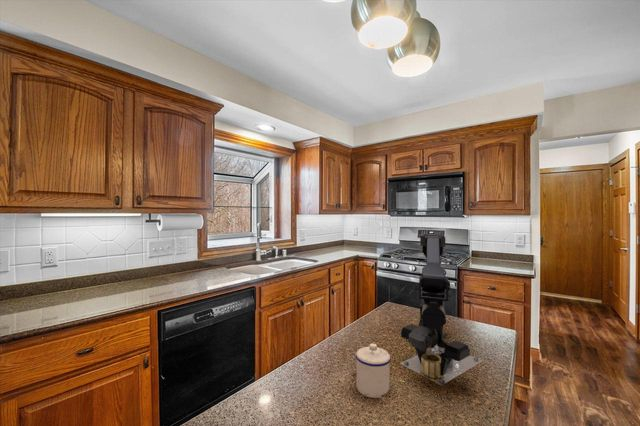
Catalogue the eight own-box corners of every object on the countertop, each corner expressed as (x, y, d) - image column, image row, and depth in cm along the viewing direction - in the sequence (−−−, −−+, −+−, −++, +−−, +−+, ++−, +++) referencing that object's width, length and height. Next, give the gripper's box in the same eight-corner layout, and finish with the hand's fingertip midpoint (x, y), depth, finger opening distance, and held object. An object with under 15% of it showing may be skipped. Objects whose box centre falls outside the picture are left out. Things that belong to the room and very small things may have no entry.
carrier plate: (399, 365, 89) (399, 351, 89) (441, 346, 102) (441, 333, 102) (441, 388, 78) (441, 371, 78) (483, 363, 91) (483, 349, 91)
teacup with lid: (397, 392, 76) (398, 347, 76) (371, 403, 71) (371, 356, 71) (367, 370, 86) (367, 331, 86) (342, 379, 81) (342, 337, 81)
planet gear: (417, 370, 84) (417, 356, 84) (429, 364, 88) (429, 351, 88) (435, 380, 80) (436, 365, 80) (448, 373, 83) (448, 359, 83)
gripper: (389, 312, 87) (388, 364, 87) (448, 334, 71) (447, 397, 72) (412, 305, 93) (411, 354, 93) (471, 324, 78) (470, 382, 78)
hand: (432, 370), depth 84 cm, fingers closed on planet gear, 6 cm apart
